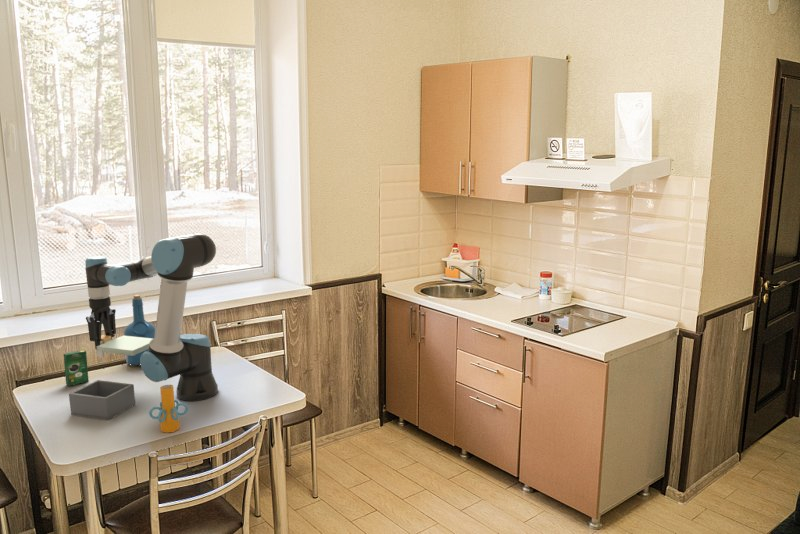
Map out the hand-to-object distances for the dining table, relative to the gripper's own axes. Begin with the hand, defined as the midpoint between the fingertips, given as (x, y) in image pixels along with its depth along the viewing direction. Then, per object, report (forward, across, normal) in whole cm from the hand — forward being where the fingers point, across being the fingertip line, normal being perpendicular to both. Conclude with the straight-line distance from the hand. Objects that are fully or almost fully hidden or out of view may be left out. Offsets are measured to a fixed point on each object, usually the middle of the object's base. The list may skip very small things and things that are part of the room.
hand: (105, 355), depth 259 cm
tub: (+13, +19, +15) cm, 27 cm away
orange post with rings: (+13, +26, +48) cm, 56 cm away
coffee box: (+14, 0, -15) cm, 20 cm away
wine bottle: (+14, -29, -7) cm, 33 cm away
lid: (-3, 0, +9) cm, 9 cm away
